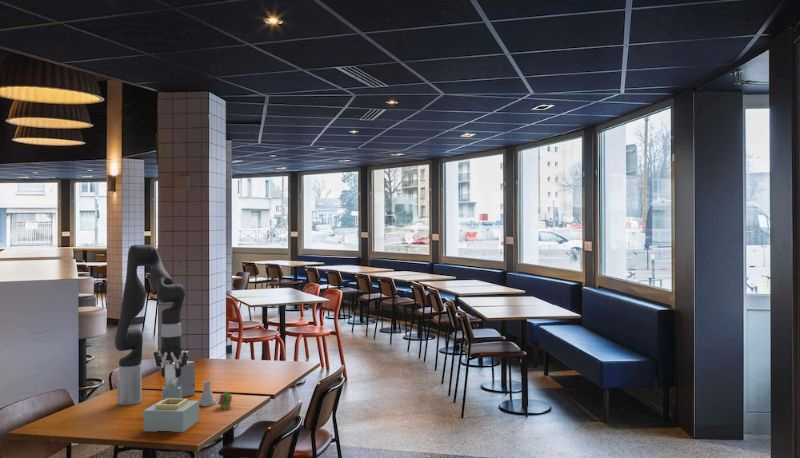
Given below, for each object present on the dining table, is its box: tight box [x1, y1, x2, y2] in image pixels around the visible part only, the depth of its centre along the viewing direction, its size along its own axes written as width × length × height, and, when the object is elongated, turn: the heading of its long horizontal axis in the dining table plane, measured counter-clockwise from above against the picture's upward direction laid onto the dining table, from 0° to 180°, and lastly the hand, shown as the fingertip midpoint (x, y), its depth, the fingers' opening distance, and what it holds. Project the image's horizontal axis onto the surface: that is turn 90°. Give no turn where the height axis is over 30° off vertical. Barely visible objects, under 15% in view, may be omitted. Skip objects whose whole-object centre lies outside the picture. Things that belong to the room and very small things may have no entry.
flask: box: [199, 380, 217, 407], centre depth 259 cm, size 7×7×10 cm
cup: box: [161, 385, 182, 400], centre depth 251 cm, size 8×8×10 cm
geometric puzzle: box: [215, 391, 234, 409], centre depth 255 cm, size 7×7×8 cm
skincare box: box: [178, 360, 196, 399], centre depth 274 cm, size 8×7×16 cm
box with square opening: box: [143, 398, 200, 433], centre depth 231 cm, size 16×14×10 cm
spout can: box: [164, 360, 178, 388], centre depth 231 cm, size 5×5×10 cm
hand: (171, 377), depth 231 cm, fingers closed on spout can, 5 cm apart
